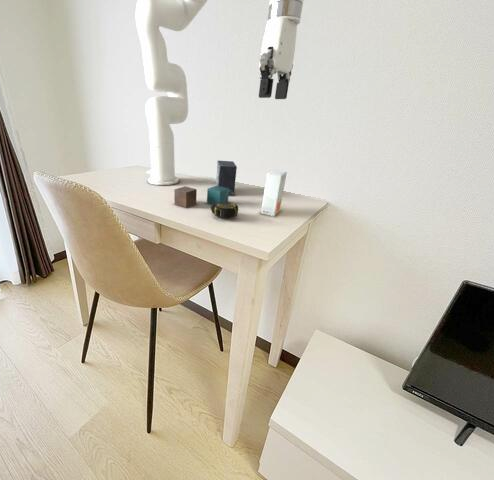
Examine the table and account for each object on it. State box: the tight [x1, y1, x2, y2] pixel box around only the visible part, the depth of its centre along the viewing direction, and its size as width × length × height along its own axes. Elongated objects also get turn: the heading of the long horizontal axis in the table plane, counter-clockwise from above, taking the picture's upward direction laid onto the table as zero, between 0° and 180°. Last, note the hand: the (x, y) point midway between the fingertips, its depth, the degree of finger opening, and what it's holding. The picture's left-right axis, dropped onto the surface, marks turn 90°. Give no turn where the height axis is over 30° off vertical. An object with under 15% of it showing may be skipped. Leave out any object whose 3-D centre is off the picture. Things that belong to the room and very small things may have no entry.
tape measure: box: [210, 201, 239, 220], centre depth 73 cm, size 7×7×4 cm
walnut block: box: [173, 185, 198, 209], centre depth 82 cm, size 5×5×5 cm
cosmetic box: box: [260, 169, 288, 217], centre depth 76 cm, size 6×4×12 cm
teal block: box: [206, 185, 230, 206], centre depth 84 cm, size 5×5×5 cm
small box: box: [215, 160, 238, 196], centre depth 95 cm, size 11×6×10 cm, turn 179°
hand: (272, 98), depth 69 cm, fingers open, 9 cm apart
